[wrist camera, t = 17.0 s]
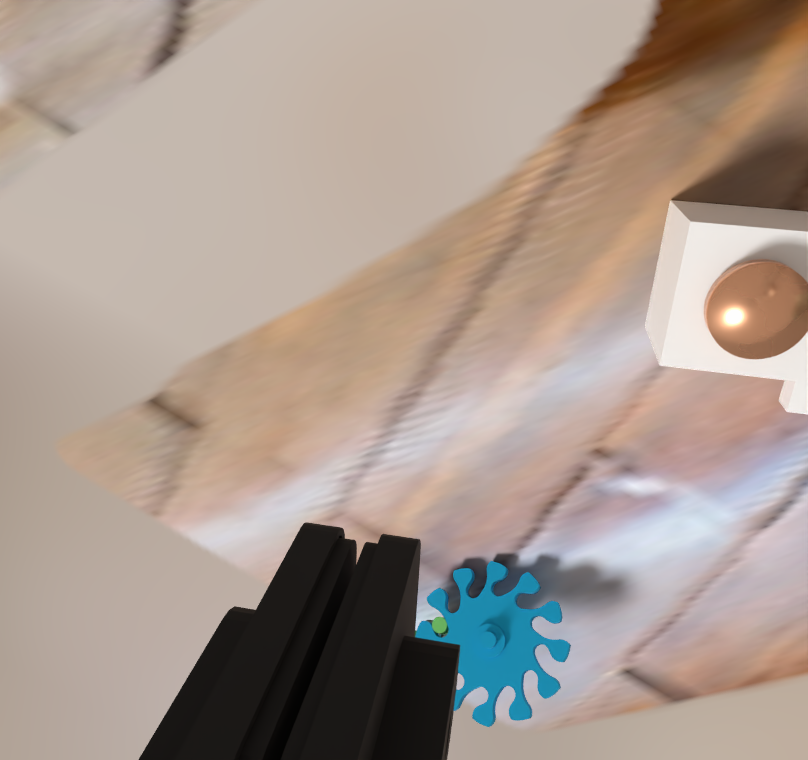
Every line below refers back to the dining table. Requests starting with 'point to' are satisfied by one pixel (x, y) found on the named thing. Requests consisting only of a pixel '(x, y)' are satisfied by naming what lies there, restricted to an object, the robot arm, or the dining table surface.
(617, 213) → the dining table surface
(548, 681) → the gear
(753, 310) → the press pin
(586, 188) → the dining table surface
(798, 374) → the press bed
